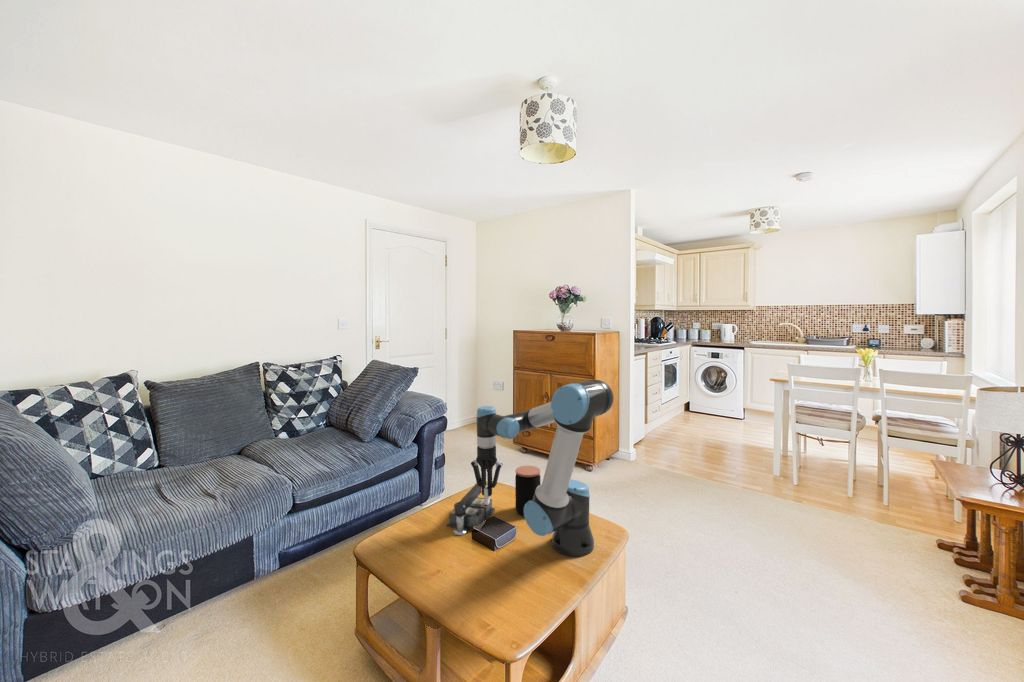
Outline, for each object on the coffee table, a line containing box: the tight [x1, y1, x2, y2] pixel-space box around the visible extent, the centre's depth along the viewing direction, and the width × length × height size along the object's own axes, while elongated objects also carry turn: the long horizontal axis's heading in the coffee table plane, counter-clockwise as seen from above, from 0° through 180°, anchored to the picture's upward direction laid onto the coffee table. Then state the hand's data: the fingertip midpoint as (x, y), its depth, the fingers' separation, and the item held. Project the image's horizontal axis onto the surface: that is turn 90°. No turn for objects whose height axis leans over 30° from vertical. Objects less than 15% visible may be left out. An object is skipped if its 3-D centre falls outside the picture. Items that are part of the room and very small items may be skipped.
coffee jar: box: [514, 465, 541, 517], centre depth 174 cm, size 11×11×18 cm
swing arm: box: [453, 482, 482, 516], centre depth 167 cm, size 24×4×4 cm, turn 163°
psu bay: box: [446, 496, 496, 531], centre depth 169 cm, size 14×18×6 cm
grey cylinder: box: [453, 515, 468, 537], centre depth 158 cm, size 5×5×7 cm
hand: (487, 503), depth 164 cm, fingers closed
